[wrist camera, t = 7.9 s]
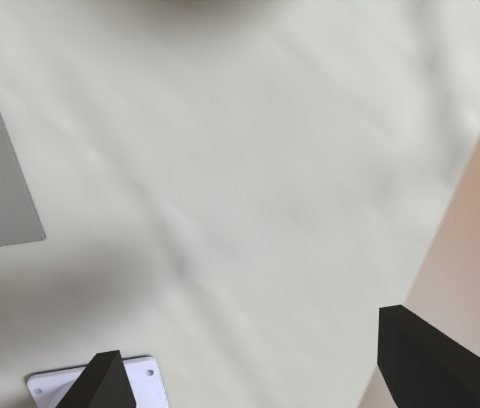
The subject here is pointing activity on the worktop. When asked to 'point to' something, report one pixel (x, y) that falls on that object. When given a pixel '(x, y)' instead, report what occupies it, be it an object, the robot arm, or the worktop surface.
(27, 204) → the mat
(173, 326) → the worktop surface
